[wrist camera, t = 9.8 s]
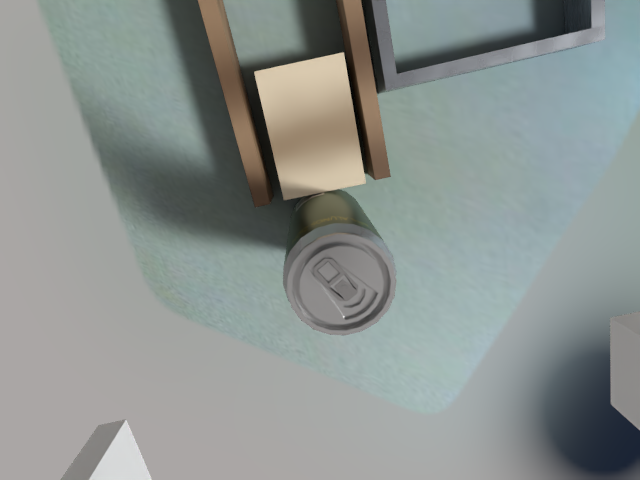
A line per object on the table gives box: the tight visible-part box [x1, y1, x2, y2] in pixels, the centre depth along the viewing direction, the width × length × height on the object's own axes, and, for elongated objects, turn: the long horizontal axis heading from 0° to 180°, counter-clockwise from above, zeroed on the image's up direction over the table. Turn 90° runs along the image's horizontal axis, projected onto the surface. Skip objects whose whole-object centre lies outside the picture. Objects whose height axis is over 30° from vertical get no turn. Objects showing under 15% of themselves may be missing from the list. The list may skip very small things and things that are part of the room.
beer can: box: [283, 189, 396, 335], centre depth 23 cm, size 5×5×12 cm
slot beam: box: [198, 0, 391, 207], centre depth 24 cm, size 16×9×3 cm, turn 13°
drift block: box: [254, 52, 366, 200], centre depth 26 cm, size 8×6×3 cm
